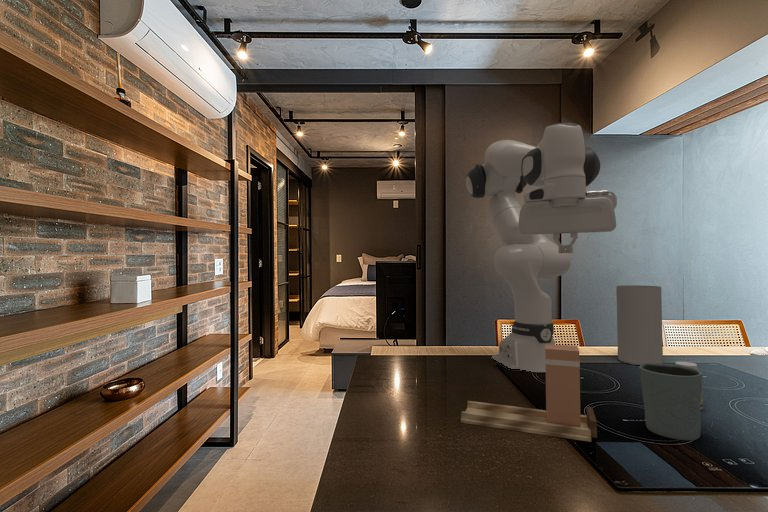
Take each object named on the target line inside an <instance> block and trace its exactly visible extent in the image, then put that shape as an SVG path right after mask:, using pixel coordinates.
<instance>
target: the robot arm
mask: <svg viewBox="0 0 768 512" xmlns="http://www.w3.org/2000/svg"><path fill="white" fill-rule="evenodd" d="M542 135H543V136H542V138H541V140H540V142H539V143H538V144H537V145H536V146H534V145H532V144H531V145H530V144H527V143H524V142H522V141H518V140H514V139H513V140H512V139H502V140H497V141H494V142H492V143H491V144H490V145H489V146H488V147H487V149H486V150H485V153H484V163H482V164H479V163H477V164H475V166H474V167H473V168H472V169H470V170H469V171H468V173H467V174H466V176H465V186H466V189H467V191H468V193H469V195H470V196H471V197H473V199H481V198H482V199H483V198H484V197H489V199H488V201H487V210H488V214H489V217H490V220H491V223H492V224H493V226H494V228H495V230H496V232H497V235H498V237H499V238H500V241H501V242H502V243H503V244H504V245H503V246H500V247H499V248H498V249H497V250H496V252H495V253H494V256H493V266H494V269H495V271H496V273H497V274H498V275H499V276H500V277H501V278H502V279H504V280H505V282H506V283H507V284H508V286H509V288H510V291H511V293H512V297H513V304H514V305H513V306H514V308H513V309H514V321H512V322H511V324H510V325H509V326H510V327H511V333H509V334H508V335H507V336H505V338H503V339H502V340H501V341H500V342H499V344H498V354H497V353H496V354H493V355H492V356H491V359H492V358H493V359H494V360H496V361H498V362H499V363H502V364H504V365H505V366H507V367H508V368H511V369H520V370H519V371H522V370H526V371H525V372H529V371H531V372H530V373H546V364H545V344H552V345H556V340H555V339H554V336H553V335H554V334H555V333H554V332H555V325H554V323H553V318H552V317H553V314H552V313H553V312H552V311H553V309H552V307H553V305H552V298H551V296H550V295H549V294H548V293H547V292H545V291H543V290H542V289H541V287H540V285H539V283H538V279H552V278H555V277H556V278H557V277H559V276H560V277H561V276H563V275H566V274H567V272H568V271H569V269H570V267H571V256H570V254H573V249H574V248H573V245H574V244H575V243H576V241H577V239H578V238H579V237H578V236H579V235H578V234H580V233H582V234H583V233H584V234H585V233H609V232H613V231H614V230H615V229H616V227H617V218H616V217H617V216H616V212H615V209H616V208H617V204H618V202H617V195H616V194H615V193H614V192H612V191H609V190H607V189H603V190H587V187H588V186H589V185H590V184H592V183H593V182H594V181H595V179H597V177H598V175H599V174H600V172H601V161H600V158H599V156H598V155H597V153H596V152H595V151H594V150H593V148H591V147H587V146H585V145H586V144H585V137H584V132H583V128H582V126H581V125H580V124H577V123H575V122H558V123H557V122H556V123H552V124H549V125H547V126H546V127H545V128H544V131H543V134H542ZM527 184H528V185H529V186H531V187H537V188H534V189H531V190H527V192H525V193H524V195H523V202H524V203H523V205H522V206H521V205H520V203H519V201H518V200H517V197H516V194H521V193H522V192H523V191H524V188H525V187H526V186H527ZM561 234H570V235H569V236H570V238H571V242H570V243H569V244H565V245H562V244H561V242H560V240H559V239H560V237H561V236H560V235H561ZM545 235H552V239H553V241H554V242H553V241H552V240H550V239H549V238H547V237H546V236H545ZM493 359H492V360H493ZM494 360H493V361H494ZM496 361H495V362H496ZM498 362H497V363H498ZM499 363H498V364H499Z"/></svg>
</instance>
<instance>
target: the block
mask: <svg viewBox="0 0 768 512" xmlns="http://www.w3.org/2000/svg"><path fill="white" fill-rule="evenodd" d="M545 364H546V372H545V408H546V409H545V410H546V423H553V424H560V425H568V426H575V427H581V417H580V415H581V374H580V372H581V371H580V369H581V363H580V349H579V347H578V345H568V344H567V345H563V344H555V345H552V344H545Z"/></svg>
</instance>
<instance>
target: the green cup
mask: <svg viewBox="0 0 768 512" xmlns="http://www.w3.org/2000/svg"><path fill="white" fill-rule="evenodd" d="M638 370H639V378H640V383H641V391H642V401H643V408H644V421H645V426H646V428H647V430H649V431H650V432H651V433H654V434H656V435H659V436H662V437H664V438H669V439H673V440H679V441H695V440H698V439H699V438H700V437H701V431H702V430H701V429H702V428H701V425H702V424H701V423H702V422H701V411H702V410H701V405H700V403H701V395H702V396H703V372H702V371H700V370H699V369H698V370H697V369H694V368H690V367H685V366H680V365H675V364H671V363H647V364H641V365H640V366H638Z"/></svg>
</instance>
